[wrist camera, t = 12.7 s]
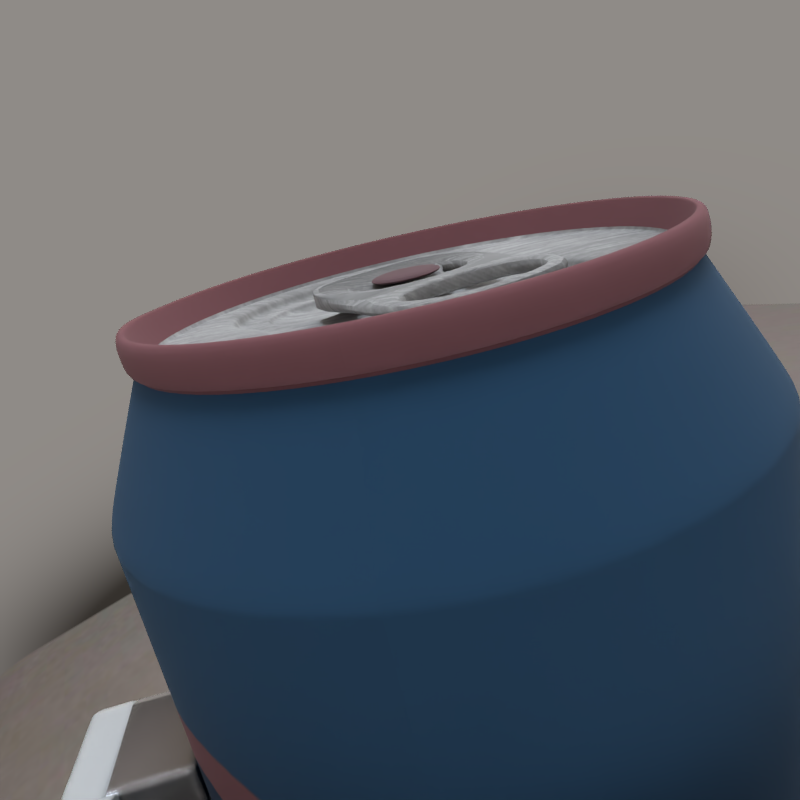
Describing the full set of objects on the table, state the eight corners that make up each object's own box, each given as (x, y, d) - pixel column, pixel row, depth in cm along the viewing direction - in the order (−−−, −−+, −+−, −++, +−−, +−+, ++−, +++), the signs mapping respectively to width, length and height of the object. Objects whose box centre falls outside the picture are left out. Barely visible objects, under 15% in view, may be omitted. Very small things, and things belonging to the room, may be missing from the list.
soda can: (289, 979, 13) (39, 324, 9) (593, 774, 15) (492, 203, 12) (524, 1660, 6) (39, 474, 3) (964, 1124, 9) (995, 145, 5)
